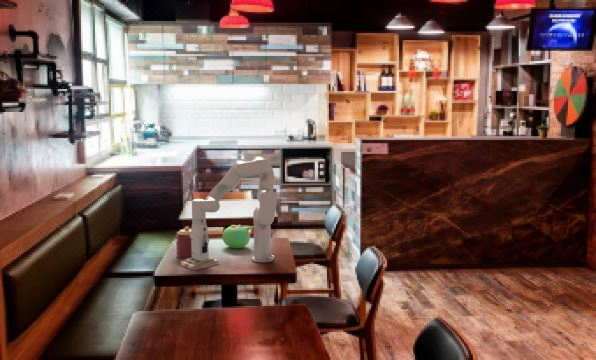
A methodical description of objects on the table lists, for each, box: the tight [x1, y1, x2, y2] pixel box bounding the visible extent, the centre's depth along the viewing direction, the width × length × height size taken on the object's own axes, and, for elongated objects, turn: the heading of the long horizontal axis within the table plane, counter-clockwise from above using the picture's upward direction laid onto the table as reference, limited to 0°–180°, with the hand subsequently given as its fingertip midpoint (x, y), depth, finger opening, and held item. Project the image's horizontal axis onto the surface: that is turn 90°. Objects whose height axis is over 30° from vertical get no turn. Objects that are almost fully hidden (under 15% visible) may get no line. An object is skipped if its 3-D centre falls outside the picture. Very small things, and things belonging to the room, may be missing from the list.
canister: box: [175, 226, 192, 259], centre depth 379 cm, size 13×13×18 cm
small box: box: [191, 236, 210, 261], centre depth 361 cm, size 8×6×13 cm
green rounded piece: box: [221, 224, 254, 249], centre depth 398 cm, size 18×17×15 cm
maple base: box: [180, 256, 220, 271], centre depth 362 cm, size 13×17×3 cm
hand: (199, 251), depth 361 cm, fingers closed on small box, 8 cm apart
